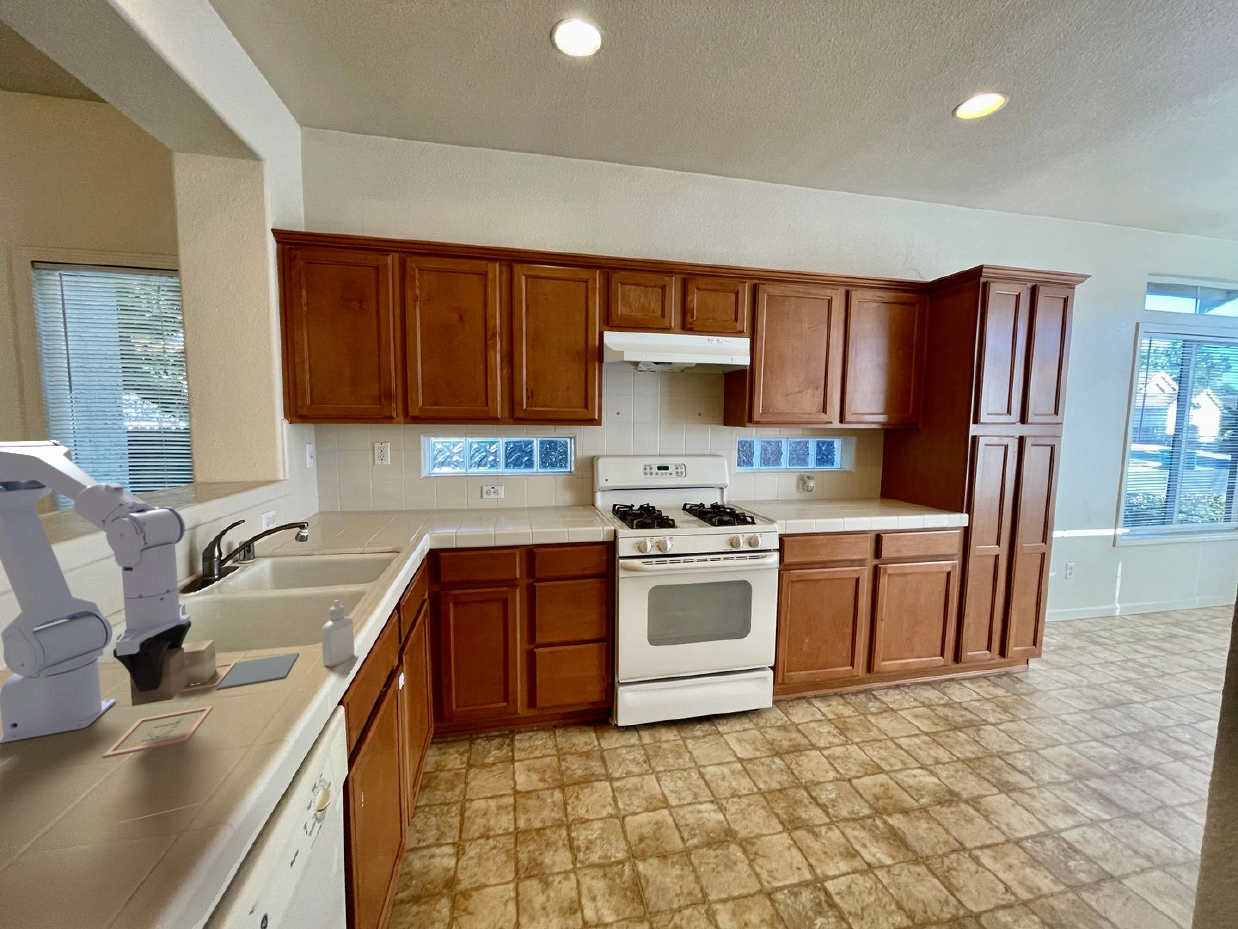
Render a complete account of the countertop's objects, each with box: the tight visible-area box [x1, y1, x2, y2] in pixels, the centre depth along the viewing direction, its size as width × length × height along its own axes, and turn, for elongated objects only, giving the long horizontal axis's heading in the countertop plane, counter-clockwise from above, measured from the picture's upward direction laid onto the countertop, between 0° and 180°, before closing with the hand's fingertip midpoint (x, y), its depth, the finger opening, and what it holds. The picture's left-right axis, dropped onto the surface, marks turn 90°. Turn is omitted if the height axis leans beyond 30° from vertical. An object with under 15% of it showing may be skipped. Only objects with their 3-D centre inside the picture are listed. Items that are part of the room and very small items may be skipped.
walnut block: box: [129, 647, 186, 707], centre depth 71 cm, size 4×4×6 cm
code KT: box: [102, 705, 214, 758], centre depth 72 cm, size 9×9×1 cm
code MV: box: [178, 661, 237, 694], centre depth 87 cm, size 9×9×1 cm
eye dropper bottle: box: [321, 599, 355, 668], centre depth 93 cm, size 4×6×12 cm
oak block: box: [182, 639, 217, 686], centre depth 87 cm, size 4×4×6 cm
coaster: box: [216, 652, 300, 691], centre depth 90 cm, size 10×10×1 cm
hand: (158, 681), depth 71 cm, fingers closed on walnut block, 4 cm apart
